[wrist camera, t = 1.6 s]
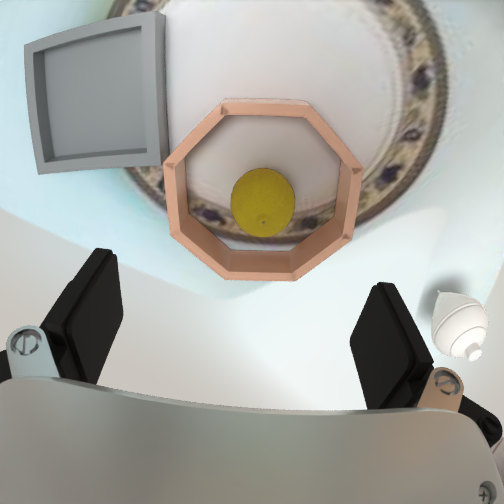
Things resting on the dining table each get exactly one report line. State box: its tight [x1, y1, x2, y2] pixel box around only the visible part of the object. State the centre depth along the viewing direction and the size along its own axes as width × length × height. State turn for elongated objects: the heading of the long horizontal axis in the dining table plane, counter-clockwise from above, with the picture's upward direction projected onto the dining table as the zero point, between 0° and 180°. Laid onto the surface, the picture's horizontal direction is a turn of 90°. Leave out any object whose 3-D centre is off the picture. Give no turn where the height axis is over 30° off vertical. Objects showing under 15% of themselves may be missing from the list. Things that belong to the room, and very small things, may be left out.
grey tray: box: [24, 11, 169, 175], centre depth 25 cm, size 14×14×3 cm
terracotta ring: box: [163, 98, 363, 281], centre depth 30 cm, size 17×17×4 cm
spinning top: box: [431, 289, 488, 361], centre depth 33 cm, size 8×8×12 cm
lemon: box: [231, 168, 295, 237], centre depth 28 cm, size 6×6×8 cm
